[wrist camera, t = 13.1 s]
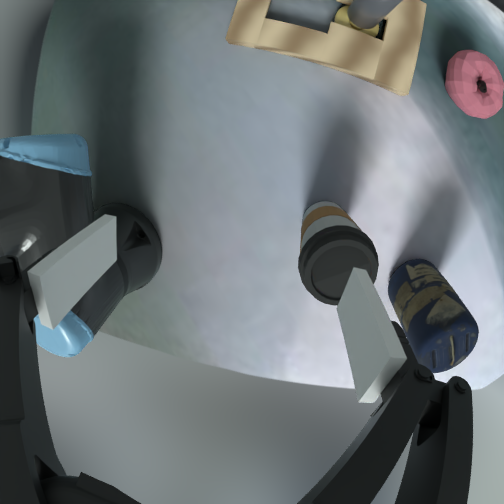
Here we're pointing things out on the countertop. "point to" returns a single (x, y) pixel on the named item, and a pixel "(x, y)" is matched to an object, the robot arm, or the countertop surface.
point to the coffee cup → (332, 251)
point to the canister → (432, 316)
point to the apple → (474, 83)
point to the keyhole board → (339, 42)
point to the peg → (365, 14)
